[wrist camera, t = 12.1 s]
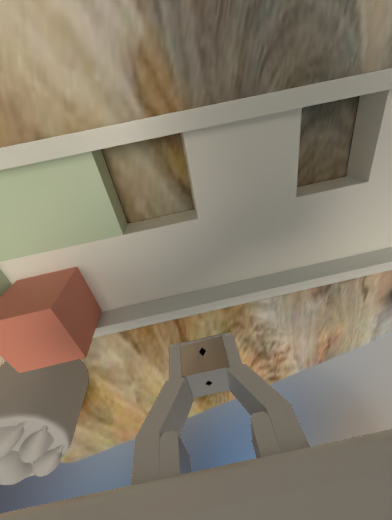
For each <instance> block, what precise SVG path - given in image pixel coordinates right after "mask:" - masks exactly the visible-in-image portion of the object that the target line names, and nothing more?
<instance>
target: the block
mask: <svg viewBox="0 0 392 520" xmlns="http://www.w3.org/2000/svg"><path fill="white" fill-rule="evenodd" d="M101 312H102V310H101V308H100V306H99V304H98V303H97V301H96V299H95V297H94V295H93V294H92V292H91V290H90V288H89V287H88V285H87V283H86V281H85V279H84V278H83V276H82V274H81V272H80V271H79V269H78V267H73V268H68V269H64V270H60V271H55V272H51V273H47V274H42V275H38V276H34V277H29V278H25V279H21V280H17V281H16V282H15V283H14V284H13V285H12V286H11V287H10V288H9V289H8V290H7V291H6V292H5V293H4V294H3V295H2V296H1V297H0V355H1V356H2V357H3V358H4V359H5V360H6V361H7V362H8V363H9V364H10V365H11V366H12V367H13V368H14V369H15V370H16V371H17V372H18V373H22V372H26V371H31V370H35V369H39V368H43V367H48V366H52V365H56V364H60V363H64V362H69V361H73V360H77V359H81V358H85V357H86V356H87V353H88V350H89V347H90V344H91V341H92V338H93V335H94V332H95V329H96V326H97V323H98V321H99V318H100V315H101Z"/></svg>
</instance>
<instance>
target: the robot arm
mask: <svg viewBox="0 0 392 520" xmlns="http://www.w3.org/2000/svg"><path fill="white" fill-rule="evenodd" d="M228 390H230V391H231V393H232V394H233V395H234V396H235V397H236V398H237V400H238V401H239V402H240V403H241V404H242V406H243V407H244V408H245V409H246V410H247V411H248V413H249V414H250V415H251V431H252V443H253V447H254V450H255V454H256V459H251V460H247V461H242V462H238V463H233V464H228V465H224V466H219V467H215V468H210V469H205V470H200V471H196V472H191V460H190V455H189V453H188V451H187V449H186V447H185V446H184V444H183V442H182V440H181V438H180V436H181V434H182V431H183V428H184V425H185V422H186V420H187V417H188V414H189V411H190V409H191V406H192V403H193V400H194V399H193V398H196V397H200V396H204V395H208V394H212V393H218V392H223V391H228ZM0 520H392V429H390V430H386V431H381V432H376V433H372V434H367V435H363V436H358V437H353V438H349V439H344V440H339V441H335V442H330V443H325V444H321V445H316V446H312V447H310V446H309V444H308V441H307V439H306V437H305V435H304V433H303V430H302V428H301V426H300V423H299V421H298V419H297V417H296V415H295V412H294V410H293V408H292V405H291V404H290V403H289V402H288V401H287V400H286V399H284V398H283V397H282V396H281V395H280V394H279V393H278V392H277V391H275V390H274V389H273V388H272V387H271V386H270V385H269V384H268V383H266V382H265V381H264V380H263V379H262V378H261V377H260V376H259V375H257V374H256V373H255V372H254V371H253V370H252V369H251V368H250V367H248V366H247V365H246V364H242V362H241V359H240V355H239V352H238V349H237V346H236V343H235V340H234V337H233V334H232V332H229V333H225V334H219V335H215V336H210V337H206V338H202V339H199V340H193V341H188V342H183V343H178V344H173V345H170V346H169V380H168V381H166V382H165V384H164V386H163V388H162V390H161V391H160V393H159V395H158V397H157V399H156V401H155V402H154V404H153V406H152V408H151V410H150V412H149V413H148V415H147V417H146V419H145V421H144V423H143V425H142V426H141V428H140V430H139V432H138V434H137V436H136V438H135V449H134V459H133V469H132V479H131V486H127V487H122V488H117V489H112V490H108V491H103V492H98V493H94V494H89V495H85V496H80V497H76V498H71V499H66V500H61V501H57V502H52V503H48V504H43V505H38V506H34V507H29V508H24V509H20V510H15V511H11V512H6V513H1V514H0Z"/></svg>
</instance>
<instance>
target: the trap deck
mask: <svg viewBox="0 0 392 520" xmlns="http://www.w3.org/2000/svg"><path fill="white" fill-rule="evenodd" d="M356 96H360V98H359V103H358V109H357V115H356V121H355V127H354V132H353V138H352V144H351V150H350V156H349V162H348V167H347V173H346V177H341V178H337V179H332V180H328V181H323V182H318V183H314V184H309V185H304V186H300V187H297V176H298V160H299V144H300V128H301V112H302V107H307V106H312V105H317V104H322V103H327V102H331V101H336V100H341V99H346V98H351V97H356ZM177 133H180V135H181V141H182V146H183V151H184V157H185V162H186V168H187V173H188V178H189V184H190V189H191V195H192V200H193V205H194V209H193V210H189V211H184V212H179V213H175V214H170V215H165V216H161V217H156V218H152V219H147V220H142V221H138V222H133V223H127V221H126V218H125V215H124V212H123V210H122V207H121V204H120V201H119V199H118V196H117V193H116V190H115V187H114V185H113V182H112V179H111V176H110V174H109V171H108V168H107V165H106V163H105V160H104V157H103V154H102V151H101V149H104V148H109V147H114V146H119V145H124V144H129V143H133V142H138V141H143V140H148V139H153V138H158V137H162V136H167V135H172V134H177ZM73 267H78V269H79V271H80V272H81V274H82V276H83V278H84V279H85V281H86V283H87V285H88V287H89V288H90V290H91V292H92V294H93V295H94V297H95V299H96V301H97V303H98V304H99V306H100V308H101V310H102V312H101V315H100V318H99V321H98V323H97V326H96V329H95V332H94V335H93V338H95V337H99V336H104V335H108V334H112V333H117V332H121V331H126V330H130V329H134V328H139V327H143V326H147V325H152V324H156V323H161V322H165V321H169V320H174V319H178V318H183V317H187V316H191V315H196V314H200V313H205V312H209V311H213V310H218V309H222V308H227V307H231V306H235V305H240V304H244V303H248V302H253V301H257V300H262V299H266V298H270V297H275V296H279V295H284V294H288V293H292V292H297V291H301V290H306V289H310V288H314V287H319V286H323V285H328V284H332V283H336V282H341V281H345V280H349V279H354V278H358V277H363V276H367V275H371V274H376V273H380V272H385V271H389V270H392V68H389V69H384V70H379V71H374V72H369V73H364V74H359V75H354V76H349V77H345V78H340V79H335V80H330V81H325V82H320V83H315V84H310V85H305V86H301V87H296V88H291V89H286V90H281V91H276V92H271V93H266V94H261V95H257V96H252V97H247V98H242V99H237V100H232V101H227V102H222V103H217V104H213V105H208V106H203V107H198V108H193V109H188V110H183V111H178V112H173V113H169V114H164V115H159V116H154V117H149V118H144V119H139V120H134V121H129V122H125V123H120V124H115V125H110V126H105V127H100V128H95V129H90V130H85V131H81V132H76V133H71V134H66V135H61V136H56V137H51V138H46V139H41V140H37V141H32V142H27V143H22V144H17V145H12V146H7V147H2V148H0V297H1V296H2V295H3V294H4V293H5V292H6V291H7V290H8V289H9V288H10V287H11V286H12V285H13V284H14V283H15V282H16V281H17V280H21V279H25V278H29V277H34V276H38V275H42V274H47V273H51V272H55V271H60V270H64V269H68V268H73Z"/></svg>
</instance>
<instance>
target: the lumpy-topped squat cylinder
mask: <svg viewBox="0 0 392 520" xmlns="http://www.w3.org/2000/svg"><path fill="white" fill-rule="evenodd" d="M88 384H89V376H88V371H87V368H86V366H85V365H84V364H83V362H82V361H81V360H80V359H77V360H73V361H69V362H64V363H60V364H56V365H52V366H48V367H43V368H39V369H35V370H31V371H26V372H22V373H18V372H17V371H16V370H15V369H14V368H13V367H12V366H11V365H10V364H9V363H8V362H7V361H6V362H5V363H4V364H3V365H2V366H1V367H0V484H2V485H12V484H15V483H18V482H19V481H21V480H23V479H24V478H25V477H29V476H33V475H37V476H39V477H42V476H45V475H47V474H49V473H50V472H51V471H53V470H54V469H55V468H56V467H57V465H58V464H59V462H60V460H61V457H62V456H63V455H64V454H65V453H66V452H67V451H68V449H69V447H70V445H71V442H72V438H73V435H74V432H75V428H76V424H77V421H78V417H79V414H80V411H81V407H82V404H83V401H84V397H85V394H86V390H87V387H88Z"/></svg>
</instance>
